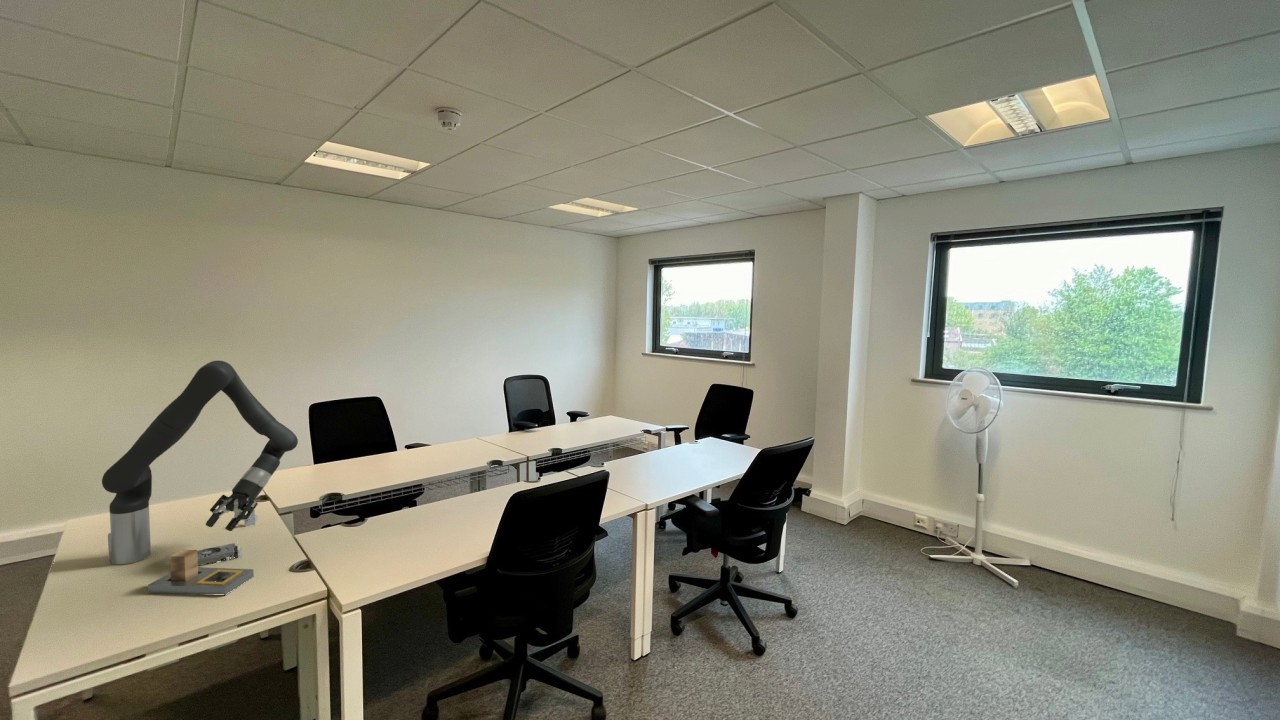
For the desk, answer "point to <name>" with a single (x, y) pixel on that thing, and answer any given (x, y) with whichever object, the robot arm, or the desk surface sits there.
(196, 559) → the peg
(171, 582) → the square hole plate
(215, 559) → the graphics card
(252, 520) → the small white bracket
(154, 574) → the desk surface
